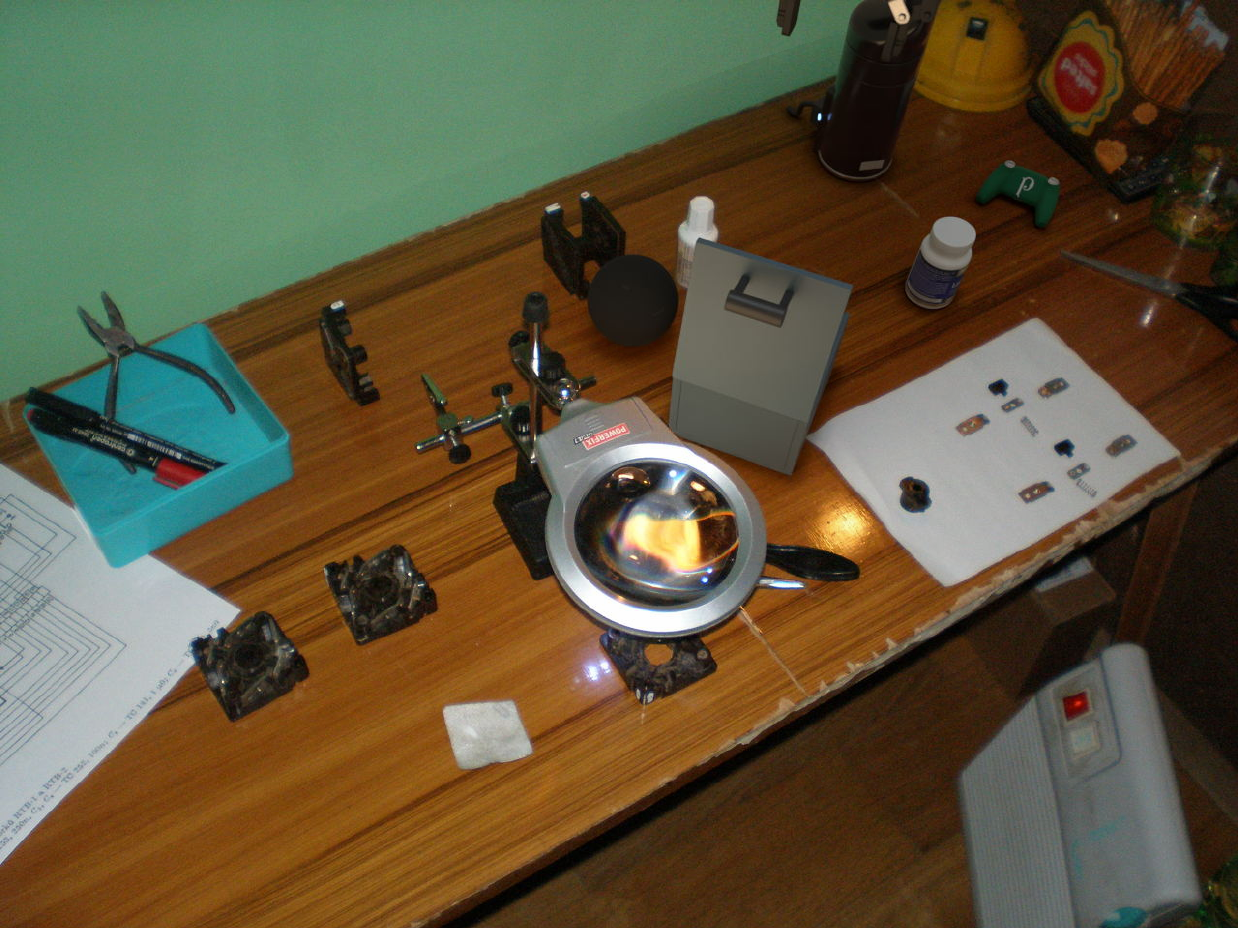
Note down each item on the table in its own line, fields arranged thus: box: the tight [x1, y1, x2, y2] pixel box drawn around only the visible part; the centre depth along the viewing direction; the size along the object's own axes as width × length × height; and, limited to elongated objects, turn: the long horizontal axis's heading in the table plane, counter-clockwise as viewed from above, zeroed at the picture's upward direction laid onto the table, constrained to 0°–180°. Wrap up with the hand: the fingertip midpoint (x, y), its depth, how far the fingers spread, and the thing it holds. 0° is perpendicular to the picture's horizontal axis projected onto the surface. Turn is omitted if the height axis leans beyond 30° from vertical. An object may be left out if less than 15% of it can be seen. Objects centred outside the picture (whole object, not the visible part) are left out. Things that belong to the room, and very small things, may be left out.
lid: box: [671, 236, 854, 423], centre depth 87 cm, size 16×14×5 cm
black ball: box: [586, 253, 680, 348], centre depth 108 cm, size 10×10×10 cm
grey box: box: [668, 311, 851, 477], centre depth 103 cm, size 15×14×10 cm
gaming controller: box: [975, 160, 1061, 229], centre depth 122 cm, size 9×4×6 cm
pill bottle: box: [904, 216, 977, 310], centre depth 111 cm, size 6×6×10 cm
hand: (836, 43), depth 82 cm, fingers open, 8 cm apart
